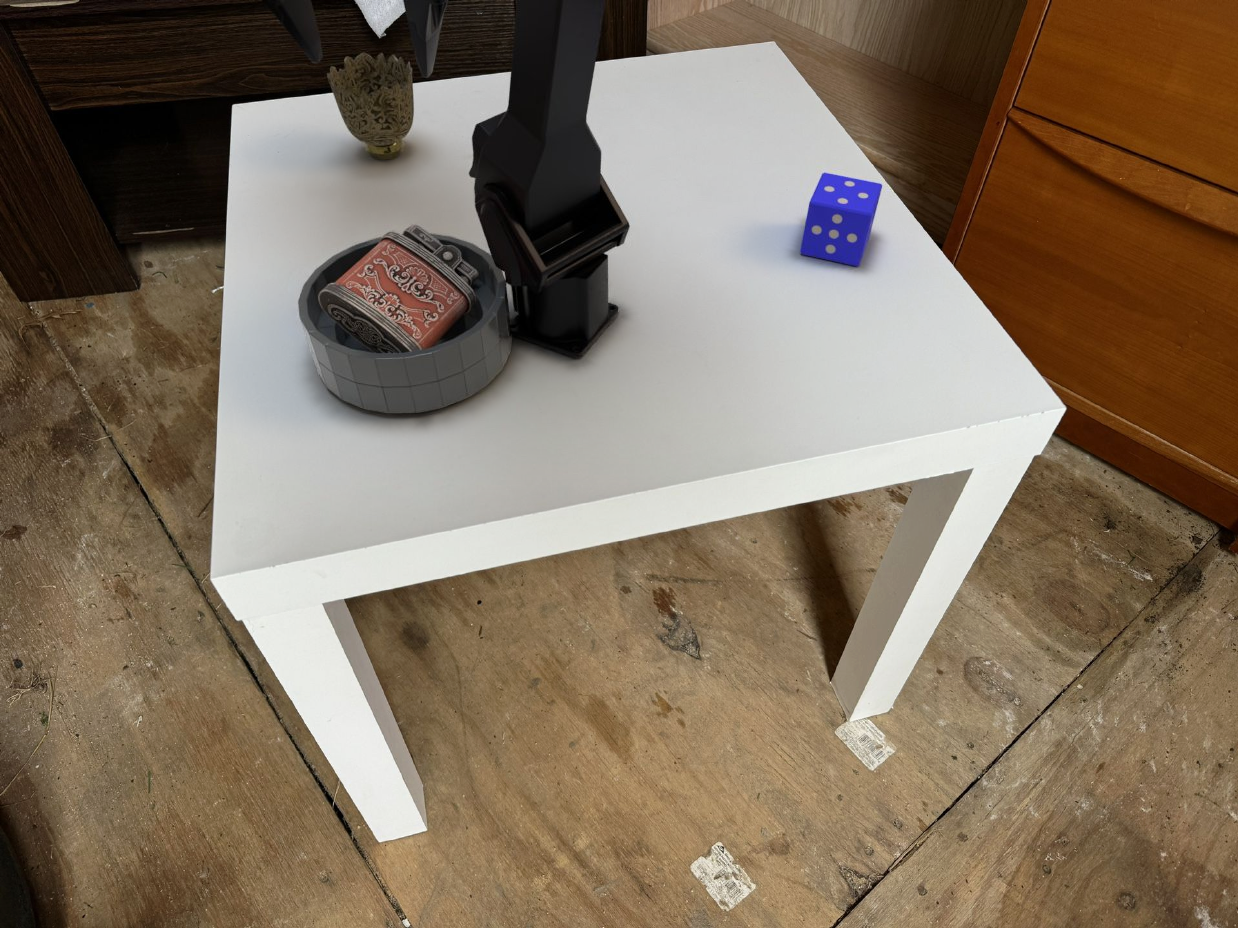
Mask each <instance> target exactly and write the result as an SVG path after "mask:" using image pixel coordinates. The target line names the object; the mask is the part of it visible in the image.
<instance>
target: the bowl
mask: <svg viewBox="0 0 1238 928" xmlns="http://www.w3.org/2000/svg"><path fill="white" fill-rule="evenodd" d="M429 233H430V232H429ZM430 234H431V235H432V236H434V237H435V238H436V239H437V240H439V242H440V243H441V244H443V245H452V246H455V247H456V248H458V249H459V250H460V252H461V257H462V260H464V261H465V262H466V263H468V264H469V265H470V266H472V267H473V268H474V269H475V270H477V272H478V274H479V275H478V278H477V280H476V281H475V282H474V283H473V284H472V285H471V286H470V287H471V288H472V290H473V291H474V293H475V295H476V304H475V305H474V307H473V308H472V309H471V310H470V311H469V312H468V313H467V314H464V315H462V316H461V317H460V318H459V319H458V320H457V321H456V322H455V323H454V324H453V326H452V327H451V328H450V329H449V330H448V331H447V332H446V333H445V334H444V335H443V336H442V337H441V338H440V339H439V340H438V341H437V343H436V344H435V345H434V346H433V347H431V348H427V349H421V350H416V351H411V352H405V353H374V352H373V351H371V350H370V349H369V348H367V347H366V346H364V345H363V344H362V343H360V342H359V341H358V340H357V339H355V338H354V337H353V336H351V335H350V334H349V333H348V332H346V331H345V330H344V329H343V328H342V327H341V326H340V325H338V324H337V323H336V322H335V321H334V320H333V319H332V318H331V317H330V316H328V315H327V314H326V313H325V311H324V310H323V309H322V307H321V306H320V303H319V300H318V295H319V293H320V292H321V291H322V290H323V289H324V288H325V287H326V286H327V285H329V284H331V283H335V282H336V281H337V280H338V279H339V278H341V277H342V276H343V275H344V274H345V273H346V272H347V271H348V270H350V269H351V268H352V267H353V266H354V265H355V264H356V263H357V262H359V261H360V260H361V259H362V258H363V257H364V256H365V255H366V254H368V253H369V252H370V251H371V250H372V249H373V248H374V247H375V246H377V245H378V244H379V240H380V239H381V238H382V237H383V236H379V237H374V238H372V239H369V240H366V241H363V242H359V243H356V244H354V245H351V246H349V247H347V248H345V249H343V250H341V251H339V252H337V253H336V254H333V255H332V256H331V257H329V258H328V259H327V260H325V261H324V262H323V263H322V264H320V265H319V266H318V267H316V269H314V271H313V272H312V273H311V274H310V276H308V279H307V280H306V281H305V282H304V283H303V286H302V289H301V292H300V294H299V297H298V301H297V307H298V316H299V320H300V323H301V326H302V329H303V333H304V335H305V339H306V342H307V344H308V348H309V350H310V353H311V356H312V359H313V362H314V365H315V368H316V370H317V373H318V375H319V377H320V378H321V380H322V382H323V383H324V386H325V388H327V389H328V390H330V392H332V393H333V394H334V395H336V396H337V397H338V398H339V399H340V400H342V401H343V402H346V403H348V404H351V405H353V406H355V407H358V408H359V409H364V410H367V411H373V412H378V413H384V414H415V413H416V414H420V413H425V412H429V411H434V410H439V409H443V408H446V407H448V406H451V405H453V404H457V403H458V402H460V401H463V400H465V399H467V398H470V397H472V396H473V395H475V394H476V393H479V391H481V390H482V389H484V388H485V387H487V386H488V385H489V384H491V382H492V381H493V380H494V379H495V378H496V377H497V376H498V375H499V374H500V372H501V371H502V369H503V368H504V366H505V364H506V363H507V360H508V358H509V356H510V354H511V351H512V340H513V335H512V333H511V323H510V322H511V316H510V305H509V297H508V288H507V283H506V280H505V274H504V273H503V272H504V271H502V270H501V269H499V268H497V267H496V266H495V264H494V261H493V258H492V256H491V253H490V252H487V251H486V250H484V249H483V248H481V247H479V246H477V245H476V244H475V243H472V242H469V241H467V240H464V239H460V238H458V237H455V236H451V235H445V234H438V233H430Z"/></svg>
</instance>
